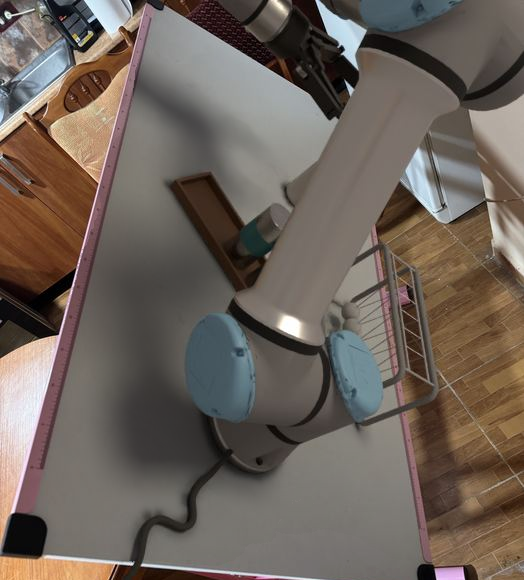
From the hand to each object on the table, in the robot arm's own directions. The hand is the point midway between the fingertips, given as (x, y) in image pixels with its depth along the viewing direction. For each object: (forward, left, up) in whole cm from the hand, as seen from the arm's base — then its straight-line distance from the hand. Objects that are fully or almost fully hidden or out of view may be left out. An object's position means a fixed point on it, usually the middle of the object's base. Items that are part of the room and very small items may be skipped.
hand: (361, 106), depth 102 cm
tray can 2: (-24, -18, -24) cm, 38 cm away
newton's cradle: (-13, -36, -25) cm, 46 cm away
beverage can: (+6, -5, -25) cm, 26 cm away
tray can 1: (-24, -11, -24) cm, 36 cm away
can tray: (-24, -9, -25) cm, 35 cm away
